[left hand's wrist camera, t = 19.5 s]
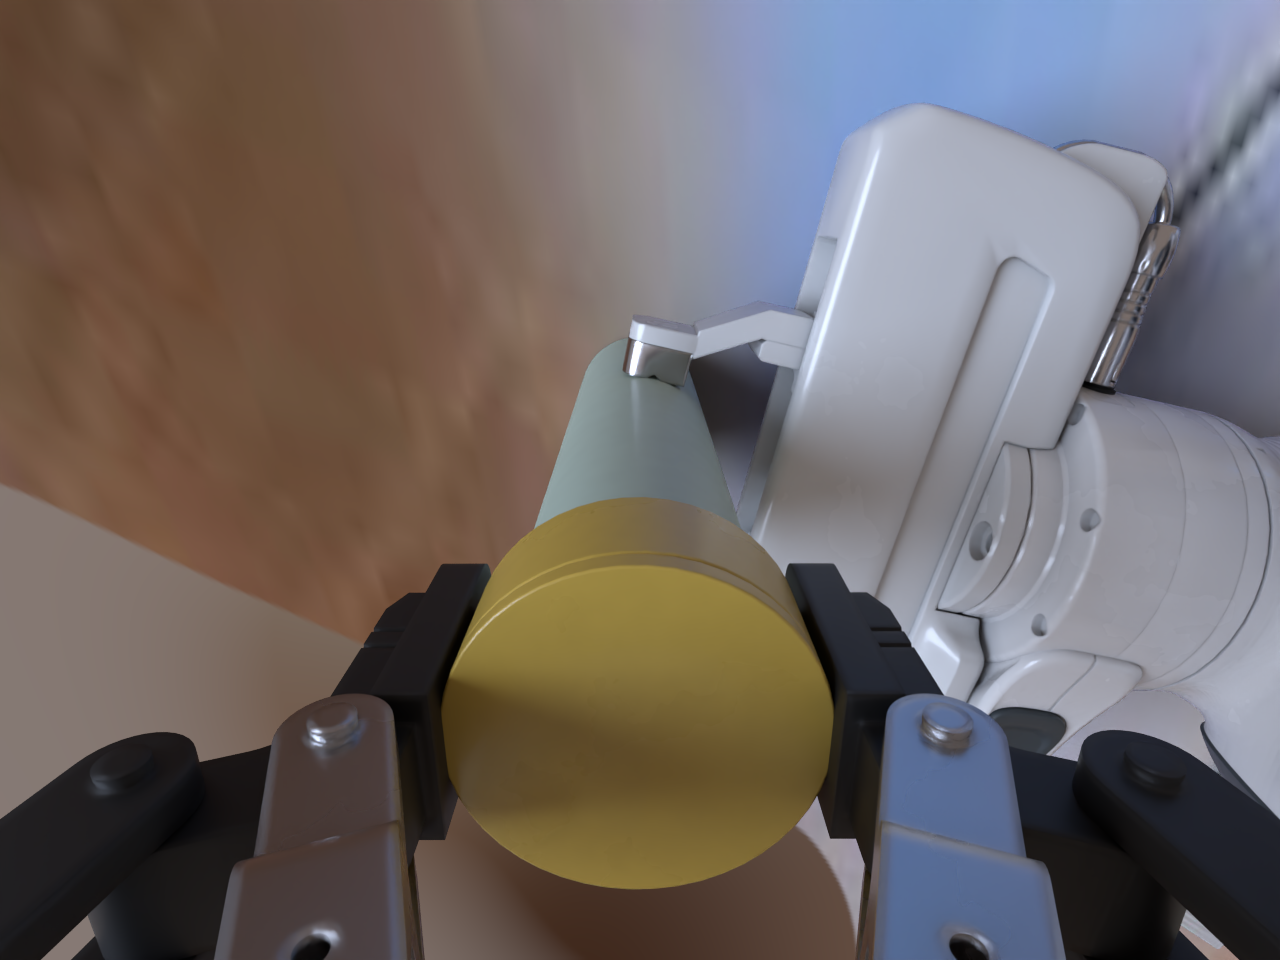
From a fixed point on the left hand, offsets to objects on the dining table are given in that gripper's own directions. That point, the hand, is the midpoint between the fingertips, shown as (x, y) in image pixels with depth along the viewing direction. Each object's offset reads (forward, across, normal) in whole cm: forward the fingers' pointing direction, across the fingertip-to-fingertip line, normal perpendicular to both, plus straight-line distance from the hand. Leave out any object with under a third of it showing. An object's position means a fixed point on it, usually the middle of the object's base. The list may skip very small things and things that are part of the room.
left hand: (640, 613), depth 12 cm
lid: (-3, 0, 0) cm, 3 cm away
